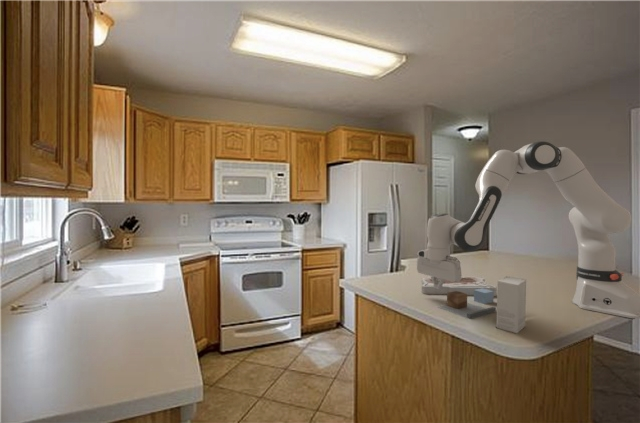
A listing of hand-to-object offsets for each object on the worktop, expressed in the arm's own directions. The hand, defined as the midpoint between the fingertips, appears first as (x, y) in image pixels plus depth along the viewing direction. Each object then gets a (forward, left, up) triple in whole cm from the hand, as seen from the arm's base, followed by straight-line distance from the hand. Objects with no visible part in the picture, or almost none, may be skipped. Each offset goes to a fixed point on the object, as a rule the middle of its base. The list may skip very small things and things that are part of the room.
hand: (437, 288), depth 137 cm
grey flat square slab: (-13, 0, -5) cm, 14 cm away
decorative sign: (+13, -22, -6) cm, 26 cm away
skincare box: (-31, +1, -6) cm, 32 cm away
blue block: (-10, -14, -6) cm, 18 cm away
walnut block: (-9, 0, -5) cm, 10 cm away
